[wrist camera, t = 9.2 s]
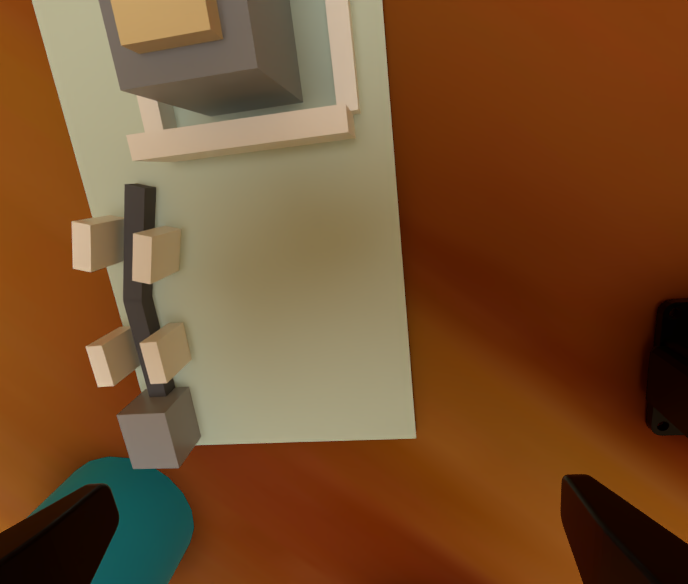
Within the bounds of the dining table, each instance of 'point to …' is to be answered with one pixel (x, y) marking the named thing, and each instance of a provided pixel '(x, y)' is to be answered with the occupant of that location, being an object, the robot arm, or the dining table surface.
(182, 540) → the mug
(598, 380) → the dining table surface
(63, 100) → the board
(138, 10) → the block
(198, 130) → the holder
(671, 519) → the dining table surface
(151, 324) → the cable
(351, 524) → the dining table surface
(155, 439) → the clamp and clips
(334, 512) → the dining table surface
